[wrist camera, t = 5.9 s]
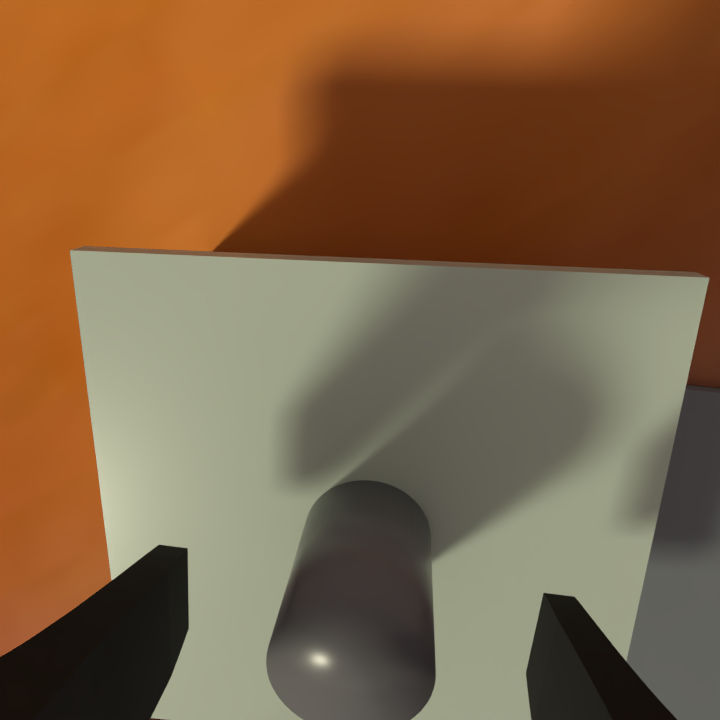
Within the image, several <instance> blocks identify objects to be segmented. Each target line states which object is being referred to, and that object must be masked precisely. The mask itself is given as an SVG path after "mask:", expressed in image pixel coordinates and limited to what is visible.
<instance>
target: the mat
mask: <svg viewBox="0 0 720 720" xmlns="http://www.w3.org/2000/svg"><path fill="white" fill-rule="evenodd" d="M626 662H627V663H628V664H629V665H630V667H631V668H632V669H633V670H634V671H635V672H636V674H637V675H638V676H639V677H640V678H641V680H642V681H643V682H644V683H645V684H646V685H647V687H648V688H649V689H650V690H651V691H652V692H653V693H654V695H655V696H656V697H657V698H658V699H659V700H660V701H661V703H662V704H663V705H664V706H665V707H666V708H667V709H668V710H669V711H670V712H671V713H672V714H673V715H674V717H675V718H676V719H677V720H720V388H712V387H703V386H693V385H686V388H685V393H684V398H683V402H682V407H681V411H680V416H679V421H678V425H677V430H676V435H675V439H674V444H673V448H672V453H671V458H670V462H669V467H668V471H667V476H666V481H665V485H664V490H663V495H662V499H661V504H660V508H659V513H658V518H657V522H656V527H655V532H654V536H653V541H652V545H651V550H650V555H649V559H648V564H647V568H646V573H645V578H644V582H643V587H642V592H641V596H640V601H639V605H638V610H637V615H636V619H635V624H634V629H633V633H632V638H631V642H630V647H629V652H628V656H627V661H626Z"/></svg>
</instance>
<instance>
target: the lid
mask: <svg viewBox="0 0 720 720" xmlns="http://www.w3.org/2000/svg"><path fill="white" fill-rule="evenodd" d="M70 255H71V263H72V271H73V279H74V286H75V294H76V302H77V310H78V318H79V326H80V334H81V342H82V350H83V358H84V365H85V373H86V381H87V389H88V397H89V405H90V413H91V421H92V429H93V437H94V445H95V452H96V460H97V468H98V476H99V484H100V492H101V500H102V508H103V516H104V524H105V532H106V539H107V547H108V555H109V563H110V571H111V579H112V580H113V579H115V578H116V577H117V576H119V575H120V574H121V573H122V572H124V571H125V570H126V569H128V568H129V567H130V566H131V565H133V564H134V563H135V562H137V561H138V560H139V559H140V558H142V557H143V556H144V555H146V554H147V553H148V552H150V551H151V550H152V549H154V548H155V547H156V546H158V545H166V546H174V547H182V548H188V604H189V629H188V632H187V635H186V638H185V641H184V643H183V646H182V649H181V652H180V655H179V657H178V660H177V663H176V665H175V668H174V671H173V673H172V676H171V678H170V680H169V682H168V684H167V686H166V688H165V690H164V692H163V694H162V696H161V698H160V700H159V702H158V704H157V706H156V708H155V710H154V712H153V714H152V716H151V718H155V719H165V720H531V713H530V706H529V697H528V688H527V679H526V670H527V665H528V661H529V656H530V652H531V647H532V643H533V638H534V634H535V629H536V625H537V620H538V616H539V611H540V607H541V602H542V597H543V593H549V594H557V595H565V596H573V597H575V598H576V599H577V600H578V601H579V602H580V604H581V605H582V606H583V608H584V609H585V610H586V611H587V613H588V614H589V615H590V616H591V618H592V619H593V620H594V622H595V623H596V624H597V625H598V627H599V628H600V629H601V630H602V632H603V633H604V634H605V636H606V637H607V638H608V639H609V641H610V642H611V643H612V644H613V646H614V647H615V648H616V649H617V651H618V652H619V653H620V654H621V656H622V657H623V658H624V659H625V660H626V661H627V656H628V652H629V647H630V642H631V638H632V633H633V629H634V624H635V619H636V615H637V610H638V605H639V601H640V596H641V592H642V587H643V582H644V578H645V573H646V568H647V564H648V559H649V555H650V550H651V545H652V541H653V536H654V532H655V527H656V522H657V518H658V513H659V508H660V504H661V499H662V495H663V490H664V485H665V481H666V476H667V471H668V467H669V462H670V458H671V453H672V448H673V444H674V439H675V435H676V430H677V425H678V421H679V416H680V411H681V407H682V402H683V398H684V393H685V388H686V384H687V379H688V374H689V370H690V365H691V361H692V356H693V351H694V347H695V342H696V338H697V333H698V328H699V324H700V319H701V314H702V310H703V305H704V301H705V296H706V291H707V287H708V282H709V277H707V276H704V275H702V274H700V273H697V272H683V271H660V270H636V269H613V268H589V267H565V266H542V265H518V264H494V263H471V262H447V261H424V260H400V259H376V258H353V257H329V256H305V255H282V254H258V253H234V252H211V251H187V250H164V249H140V248H116V247H93V246H83V247H80V248H76V249H73V250H70Z"/></svg>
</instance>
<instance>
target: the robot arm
mask: <svg viewBox="0 0 720 720" xmlns="http://www.w3.org/2000/svg"><path fill="white" fill-rule="evenodd" d="M188 629H189V604H188V548H182V547H174V546H166V545H158V546H156V547H155V548H154V549H152V550H151V551H150V552H148V553H147V554H146V555H144V556H143V557H142V558H140V559H139V560H138V561H137V562H135V563H134V564H133V565H131V566H130V567H129V568H128V569H126V570H125V571H124V572H122V573H121V574H120V575H119V576H117V577H116V578H115V579H113V580H112V581H111V582H109V583H108V584H107V585H106V586H104V587H103V588H102V589H100V590H99V591H98V592H96V593H95V594H94V595H92V596H91V597H89V598H88V599H87V600H85V601H84V602H83V603H81V604H80V605H79V606H77V607H76V608H75V609H73V610H72V611H70V612H69V613H67V614H66V615H65V616H63V617H62V618H60V619H59V620H57V621H56V622H54V623H53V624H51V625H50V626H48V627H47V628H46V629H44V630H43V631H41V632H40V633H38V634H37V635H35V636H34V637H32V638H31V639H29V640H28V641H26V642H24V643H23V644H21V645H20V646H18V647H16V648H15V649H13V650H12V651H10V652H8V653H7V654H5V655H3V656H2V657H0V720H150V718H151V716H152V714H153V712H154V710H155V708H156V706H157V704H158V702H159V700H160V698H161V696H162V694H163V692H164V690H165V688H166V686H167V684H168V682H169V680H170V678H171V676H172V673H173V671H174V668H175V665H176V663H177V660H178V657H179V655H180V652H181V649H182V646H183V643H184V641H185V638H186V635H187V632H188ZM526 679H527V688H528V697H529V706H530V713H531V720H677V719H676V718H675V717H674V715H673V714H672V713H671V712H670V711H669V710H668V709H667V708H666V707H665V706H664V705H663V704H662V703H661V701H660V700H659V699H658V698H657V697H656V696H655V695H654V693H653V692H652V691H651V690H650V689H649V688H648V687H647V685H646V684H645V683H644V682H643V681H642V680H641V678H640V677H639V676H638V675H637V674H636V672H635V671H634V670H633V669H632V668H631V667H630V665H629V664H628V663H627V662H626V660H625V659H624V658H623V657H622V656H621V654H620V653H619V652H618V651H617V649H616V648H615V647H614V646H613V644H612V643H611V642H610V641H609V639H608V638H607V637H606V636H605V634H604V633H603V632H602V630H601V629H600V628H599V627H598V625H597V624H596V623H595V622H594V620H593V619H592V618H591V616H590V615H589V614H588V613H587V611H586V610H585V609H584V608H583V606H582V605H581V604H580V602H579V601H578V600H577V599H576V598H575V597H573V596H565V595H557V594H549V593H543V597H542V602H541V607H540V611H539V616H538V620H537V625H536V629H535V634H534V638H533V643H532V647H531V652H530V656H529V661H528V665H527V670H526Z"/></svg>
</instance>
